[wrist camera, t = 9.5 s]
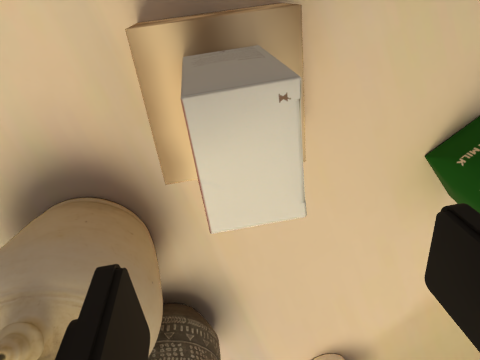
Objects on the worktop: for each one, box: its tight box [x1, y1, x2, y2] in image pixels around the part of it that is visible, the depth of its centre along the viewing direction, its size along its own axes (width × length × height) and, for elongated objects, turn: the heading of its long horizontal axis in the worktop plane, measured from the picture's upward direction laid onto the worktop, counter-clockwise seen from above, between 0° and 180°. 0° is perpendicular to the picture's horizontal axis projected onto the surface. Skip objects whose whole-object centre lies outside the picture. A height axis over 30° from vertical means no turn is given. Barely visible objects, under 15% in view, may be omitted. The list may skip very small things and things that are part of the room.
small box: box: [181, 45, 307, 234], centre depth 21 cm, size 8×6×10 cm
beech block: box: [125, 3, 306, 185], centre depth 29 cm, size 12×12×6 cm
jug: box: [0, 197, 163, 360], centre depth 27 cm, size 15×16×25 cm
